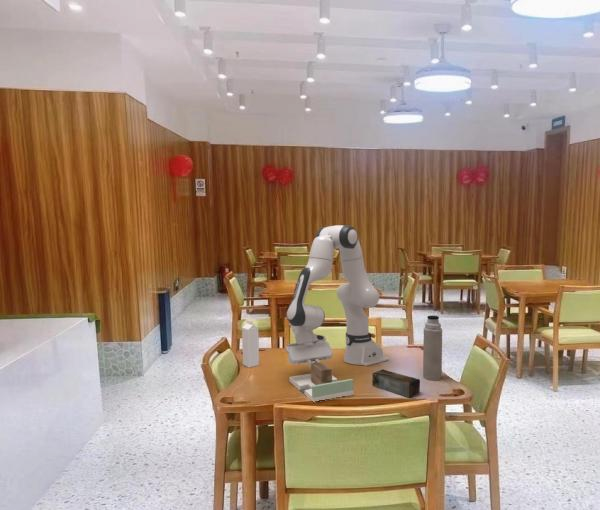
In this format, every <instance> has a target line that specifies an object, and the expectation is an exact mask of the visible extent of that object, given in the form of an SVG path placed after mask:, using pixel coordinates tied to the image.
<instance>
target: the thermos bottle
mask: <svg viewBox="0 0 600 510" xmlns="http://www.w3.org/2000/svg"><path fill="white" fill-rule="evenodd" d="M439 319H440V316H438V315H428V316H427V322H425V323H424V324H425V325H424V327H423V350H422V351H423V353H422V354H423V355H422V357H423V359H422V361H423V363H422V365H423V366H422V369H423V370H422V372H423V373H422V377H423V379H425V380H428V381H435V382H436V381H440V380H442V378H443V377H442V376H443V375H442V373H443V369H442V368H443V366H442V365H443V328H441V327H442V325H441V323H440V322H439Z"/></svg>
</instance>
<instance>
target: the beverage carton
mask: <svg viewBox="0 0 600 510" xmlns="http://www.w3.org/2000/svg"><path fill="white" fill-rule="evenodd" d="M371 380H372V381H371V382H372V383H371V384H372V385H371V386H372V387H374V388H375V387H376V388H377V389H380V390H384V391H386V392H390V393H394V394H397V395H400V396H404V397H406V398H408V399H410V398H412V397H414V396H416V395H419V394H420V392H421V387H420V386H421V380H420V379H419V378H416V377H413V376H409V375H408V376H407V375H404V374H402V373H401V374H400V373H397V372H395V371H394V372H393V371H391V370H387V369H379V370H375V371H374V372H373V373H372V379H371Z"/></svg>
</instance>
